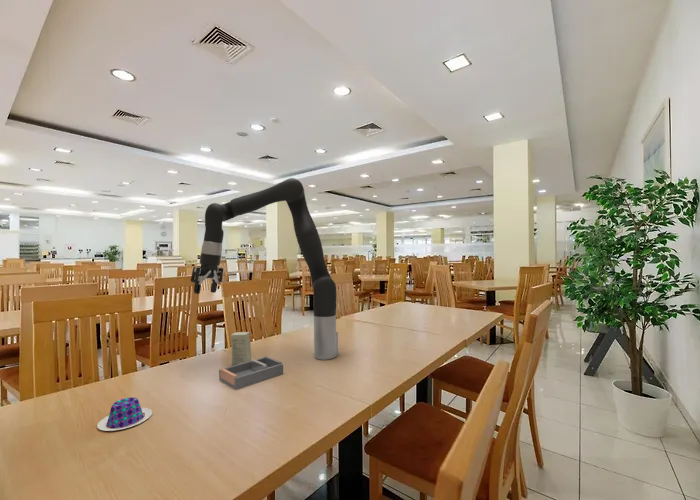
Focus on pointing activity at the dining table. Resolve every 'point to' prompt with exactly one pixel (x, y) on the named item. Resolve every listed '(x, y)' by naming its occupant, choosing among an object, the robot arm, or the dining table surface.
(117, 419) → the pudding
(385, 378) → the dining table surface
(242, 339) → the skincare box
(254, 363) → the bar
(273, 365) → the pusher lane
